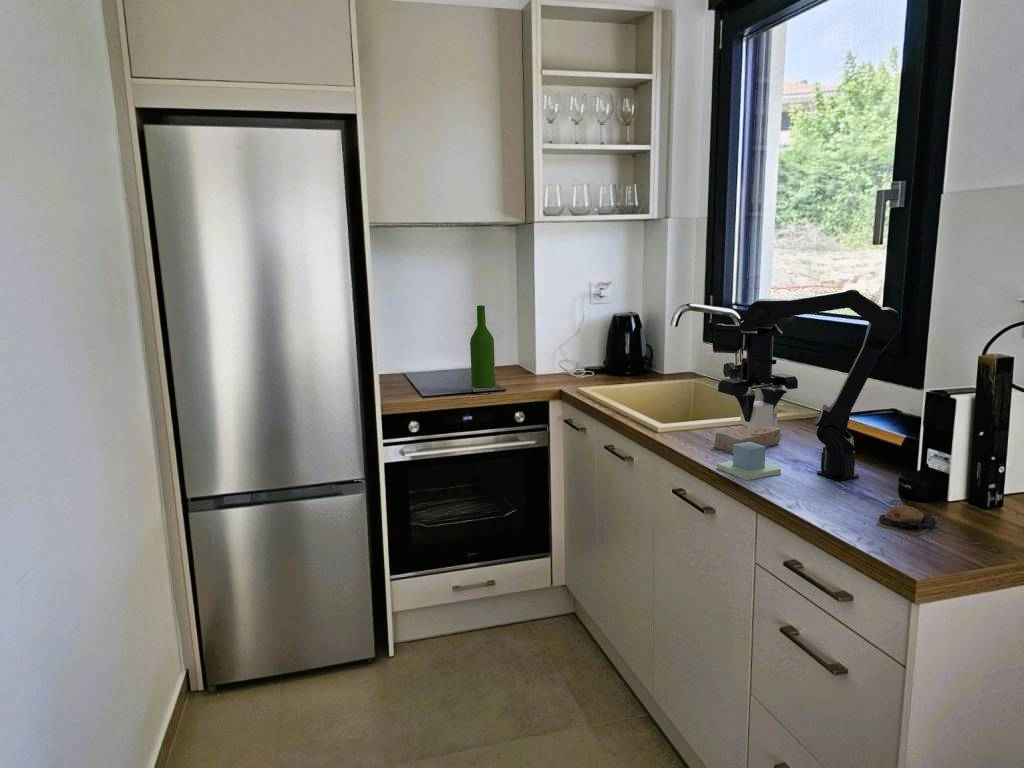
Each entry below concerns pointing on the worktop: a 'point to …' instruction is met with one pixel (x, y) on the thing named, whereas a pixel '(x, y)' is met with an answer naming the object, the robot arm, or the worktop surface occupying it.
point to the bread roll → (907, 520)
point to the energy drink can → (760, 397)
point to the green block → (750, 474)
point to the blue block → (749, 456)
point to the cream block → (759, 415)
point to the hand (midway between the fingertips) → (756, 420)
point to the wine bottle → (482, 354)
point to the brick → (747, 437)
